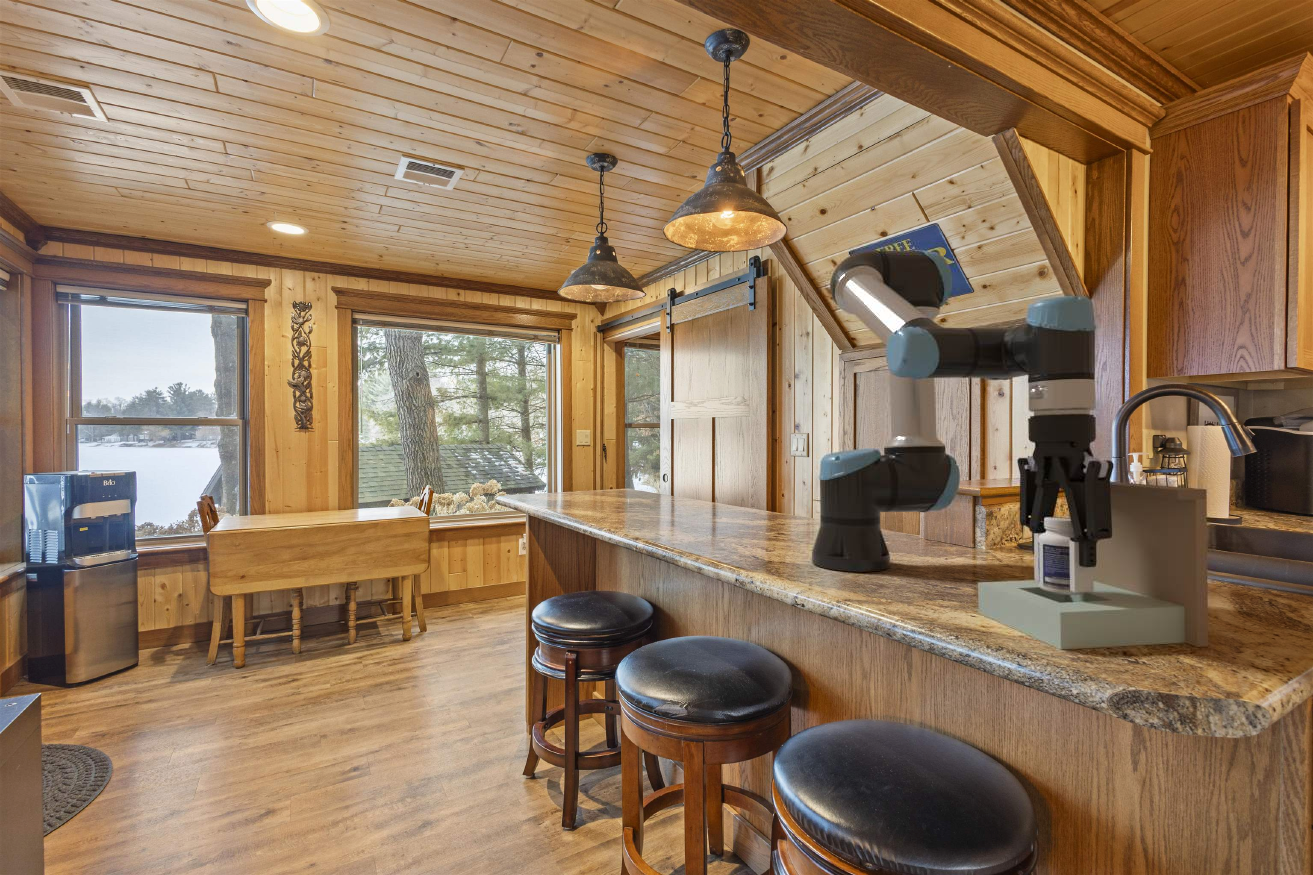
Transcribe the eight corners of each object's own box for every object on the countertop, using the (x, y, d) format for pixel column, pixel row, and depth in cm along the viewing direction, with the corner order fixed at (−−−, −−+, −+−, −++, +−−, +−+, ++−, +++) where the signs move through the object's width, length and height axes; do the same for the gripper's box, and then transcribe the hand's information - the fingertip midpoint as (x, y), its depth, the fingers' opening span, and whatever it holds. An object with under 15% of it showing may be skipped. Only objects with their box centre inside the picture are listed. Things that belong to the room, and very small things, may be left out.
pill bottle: (1096, 596, 76) (1095, 521, 76) (1052, 595, 77) (1052, 521, 77) (1071, 586, 82) (1070, 516, 82) (1030, 585, 82) (1030, 515, 82)
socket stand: (971, 610, 88) (970, 481, 88) (1084, 604, 90) (1082, 479, 90) (1070, 654, 70) (1069, 492, 70) (1208, 646, 72) (1206, 489, 72)
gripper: (989, 416, 88) (990, 571, 88) (1094, 410, 70) (1096, 605, 70) (1034, 416, 89) (1036, 569, 89) (1150, 410, 71) (1152, 602, 71)
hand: (1062, 584), depth 79 cm, fingers closed on pill bottle, 5 cm apart
